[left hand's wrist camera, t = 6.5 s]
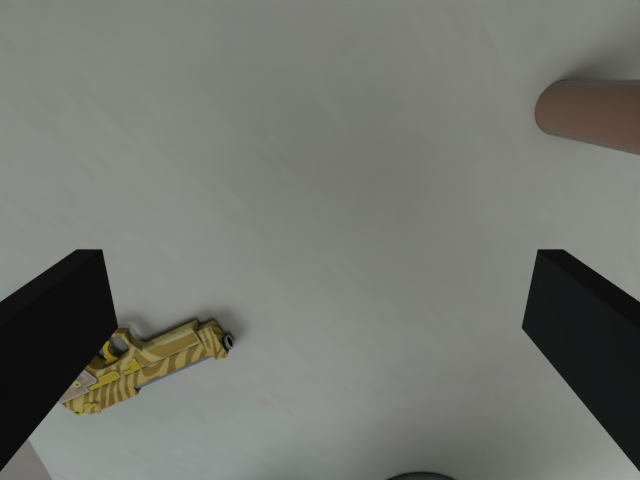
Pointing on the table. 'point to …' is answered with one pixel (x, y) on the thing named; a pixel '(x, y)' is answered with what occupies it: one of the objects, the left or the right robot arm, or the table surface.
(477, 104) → the table surface
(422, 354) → the table surface
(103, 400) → the handgun
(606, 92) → the jar
